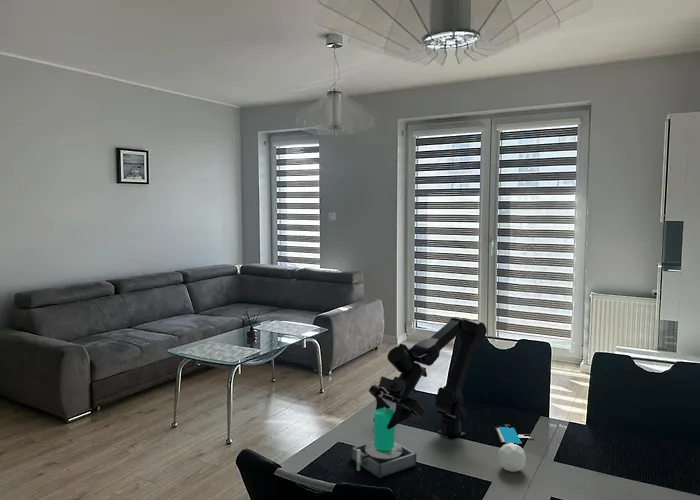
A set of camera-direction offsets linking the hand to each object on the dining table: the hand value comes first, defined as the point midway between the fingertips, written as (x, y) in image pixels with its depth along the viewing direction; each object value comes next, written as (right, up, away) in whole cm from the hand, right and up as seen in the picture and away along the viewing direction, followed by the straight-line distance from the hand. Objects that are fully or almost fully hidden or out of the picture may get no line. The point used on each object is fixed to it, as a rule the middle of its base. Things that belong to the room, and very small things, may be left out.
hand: (381, 425), depth 157 cm
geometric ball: (+37, -12, -2) cm, 40 cm away
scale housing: (0, -11, +1) cm, 11 cm away
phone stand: (+45, -11, +20) cm, 51 cm away
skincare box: (+6, -9, +35) cm, 37 cm away
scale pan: (0, -8, +1) cm, 8 cm away
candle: (+1, -7, +1) cm, 7 cm away
